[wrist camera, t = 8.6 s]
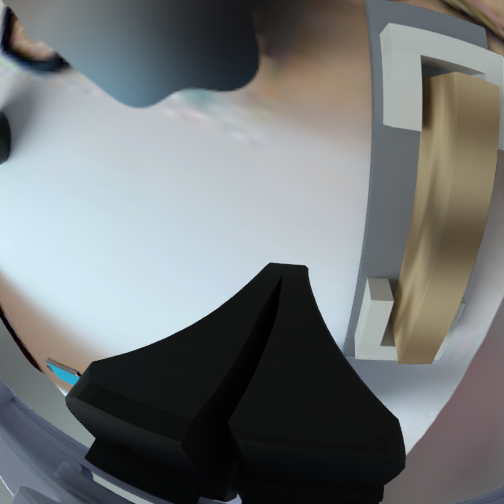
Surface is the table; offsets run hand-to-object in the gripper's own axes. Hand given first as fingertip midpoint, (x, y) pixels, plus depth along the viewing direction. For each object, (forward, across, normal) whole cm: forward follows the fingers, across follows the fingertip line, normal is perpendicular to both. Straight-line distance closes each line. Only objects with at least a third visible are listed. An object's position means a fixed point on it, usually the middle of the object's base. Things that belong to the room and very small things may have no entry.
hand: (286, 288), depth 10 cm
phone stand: (+10, +43, +38) cm, 58 cm away
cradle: (+9, -8, 0) cm, 12 cm away
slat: (+8, -8, 0) cm, 12 cm away
